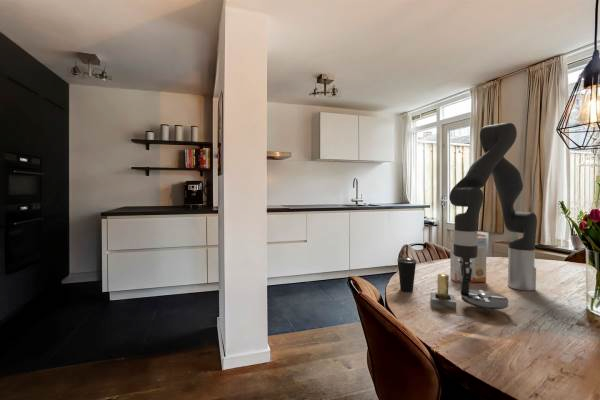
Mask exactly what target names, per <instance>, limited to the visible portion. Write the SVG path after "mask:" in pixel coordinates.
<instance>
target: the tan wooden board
mask: <svg viewBox="0 0 600 400" xmlns="http://www.w3.org/2000/svg"><path fill="white" fill-rule="evenodd" d="M430 307H431V309H430V310H431V313H437V314H445V315H452V316H461V317H467V318H468V317H469V318H473V319H474V318H475V319H482V320H489V321H495V322H496V321H498V322H504V323H511V321H510V319H509V318H508V316H507V315H506V313H505V311H504V310H503V309H487V308H481V307H477V306H474V305H471V304H468V303H466V302H464V301H463V300H462V299H461V300H458V299H456V296H455V294H452V293H448V300H446V299H438V292H434V291H430Z"/></svg>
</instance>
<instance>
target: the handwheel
mask: <svg viewBox="0 0 600 400" xmlns="http://www.w3.org/2000/svg"><path fill="white" fill-rule="evenodd" d="M465 278H467V279H468V277H465ZM461 279H462V277H461ZM460 297H461V298H460V299H461V301H464V302H466V303H468V304H471V305H474V306H477V307H481V308H487V309H502V310H503V309H507V308H509V298H507V297H506V296H505V295H501V294H499V293H496V292H493V291H487V290H483V289H469V293H463V292H462V281H461V282H460Z"/></svg>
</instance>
